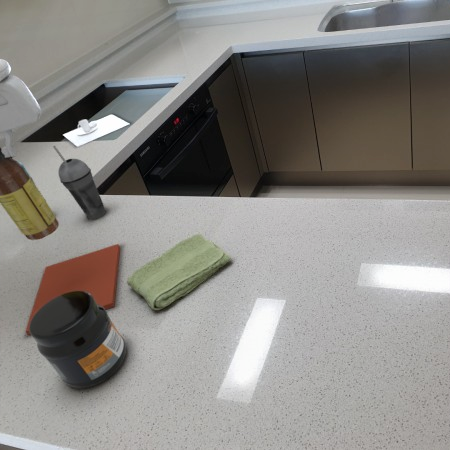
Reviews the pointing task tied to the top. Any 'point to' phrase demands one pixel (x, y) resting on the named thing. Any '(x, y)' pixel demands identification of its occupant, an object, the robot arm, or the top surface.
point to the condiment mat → (81, 278)
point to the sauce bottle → (24, 201)
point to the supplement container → (78, 339)
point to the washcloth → (177, 271)
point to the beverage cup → (81, 186)
